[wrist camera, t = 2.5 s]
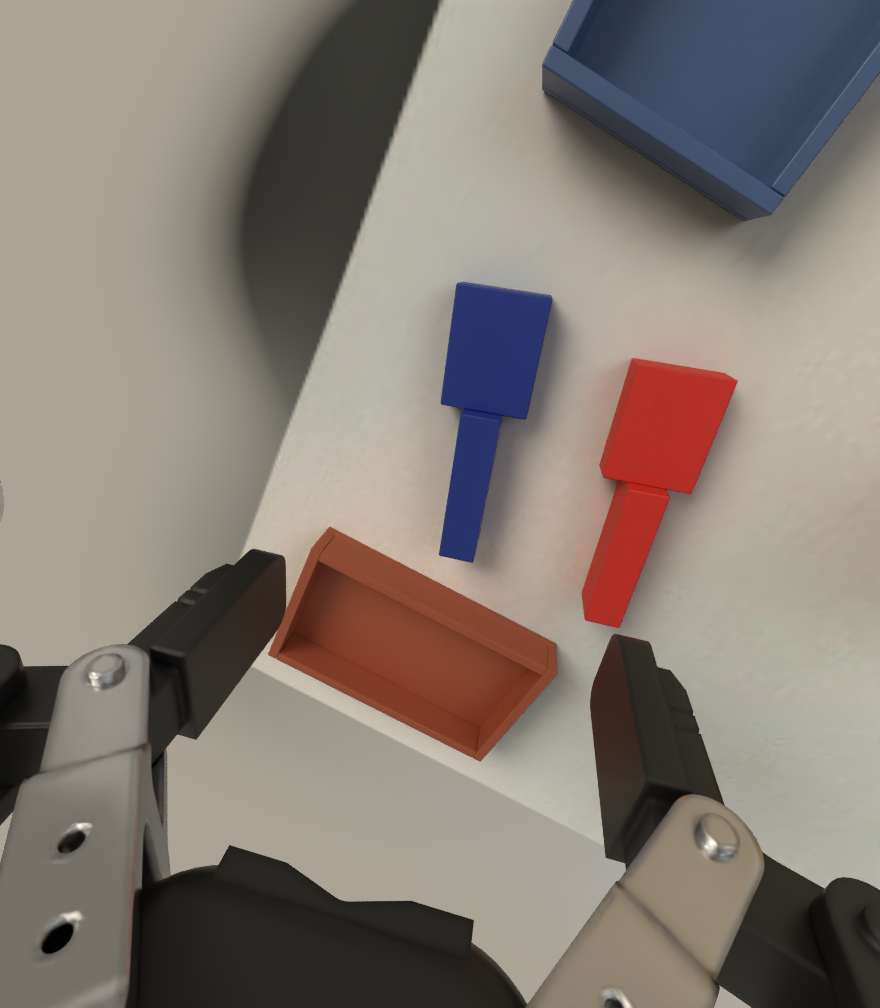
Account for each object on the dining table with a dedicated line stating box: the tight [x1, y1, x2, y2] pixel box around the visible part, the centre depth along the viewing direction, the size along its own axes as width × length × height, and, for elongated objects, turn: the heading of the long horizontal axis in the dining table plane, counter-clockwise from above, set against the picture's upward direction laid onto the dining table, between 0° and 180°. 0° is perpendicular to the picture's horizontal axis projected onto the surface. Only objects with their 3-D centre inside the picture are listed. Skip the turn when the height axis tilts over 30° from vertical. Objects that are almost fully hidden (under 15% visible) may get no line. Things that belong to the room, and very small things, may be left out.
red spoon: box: [582, 358, 737, 628], centre depth 23 cm, size 13×4×2 cm, turn 172°
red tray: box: [268, 527, 557, 761], centre depth 30 cm, size 15×9×2 cm, turn 64°
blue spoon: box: [439, 282, 552, 563], centre depth 23 cm, size 13×4×2 cm, turn 172°
